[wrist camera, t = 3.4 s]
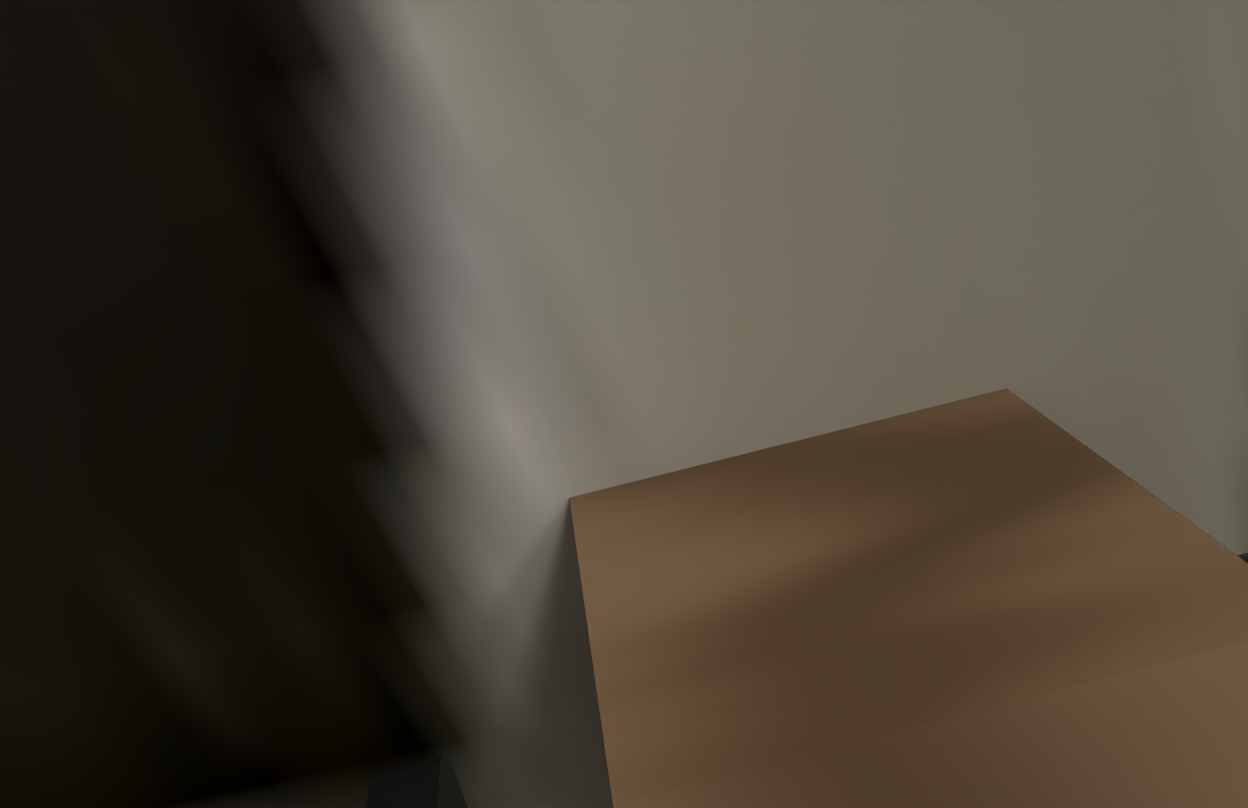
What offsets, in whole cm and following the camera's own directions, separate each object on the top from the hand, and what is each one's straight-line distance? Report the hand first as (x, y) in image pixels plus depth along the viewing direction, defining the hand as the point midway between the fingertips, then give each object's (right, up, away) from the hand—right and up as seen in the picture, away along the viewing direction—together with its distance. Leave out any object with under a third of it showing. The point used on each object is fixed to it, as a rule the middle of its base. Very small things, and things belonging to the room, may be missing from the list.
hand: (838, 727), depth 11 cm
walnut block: (0, +1, +2) cm, 2 cm away
